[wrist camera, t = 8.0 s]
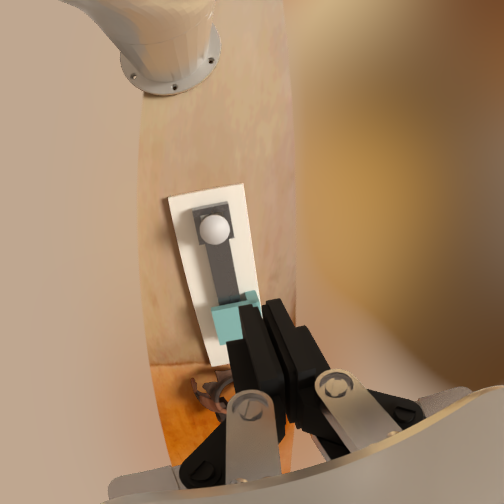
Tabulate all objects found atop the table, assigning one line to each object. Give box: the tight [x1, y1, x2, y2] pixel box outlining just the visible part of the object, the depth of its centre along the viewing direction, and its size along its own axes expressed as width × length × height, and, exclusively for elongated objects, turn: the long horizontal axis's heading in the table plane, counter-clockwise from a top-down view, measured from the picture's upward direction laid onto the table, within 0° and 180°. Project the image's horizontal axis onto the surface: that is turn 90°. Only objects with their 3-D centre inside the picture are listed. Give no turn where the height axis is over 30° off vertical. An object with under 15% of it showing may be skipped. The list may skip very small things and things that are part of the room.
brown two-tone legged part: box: [191, 369, 233, 423], centre depth 46 cm, size 12×10×8 cm
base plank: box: [168, 183, 263, 367], centre depth 39 cm, size 28×10×5 cm, turn 9°
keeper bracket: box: [211, 290, 262, 345], centre depth 40 cm, size 6×6×3 cm
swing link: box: [192, 201, 241, 306], centre depth 39 cm, size 20×4×2 cm, turn 9°
